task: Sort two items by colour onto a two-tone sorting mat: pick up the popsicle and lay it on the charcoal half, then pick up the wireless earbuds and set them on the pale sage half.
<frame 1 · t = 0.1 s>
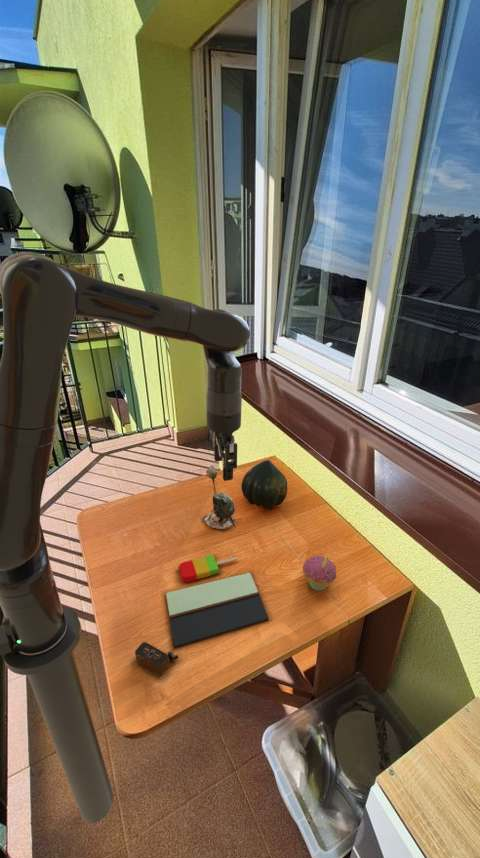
hand: (223, 469, 90), 28 cm above the table, tool pointing down, fingers open, 8 cm apart
squash: (263, 501, 125), on the table
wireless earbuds: (158, 663, 76), on the table
cupcake: (317, 583, 97), on the table
popsicle: (209, 568, 98), on the table
sorting mat: (216, 607, 88), on the table
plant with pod: (221, 523, 114), on the table
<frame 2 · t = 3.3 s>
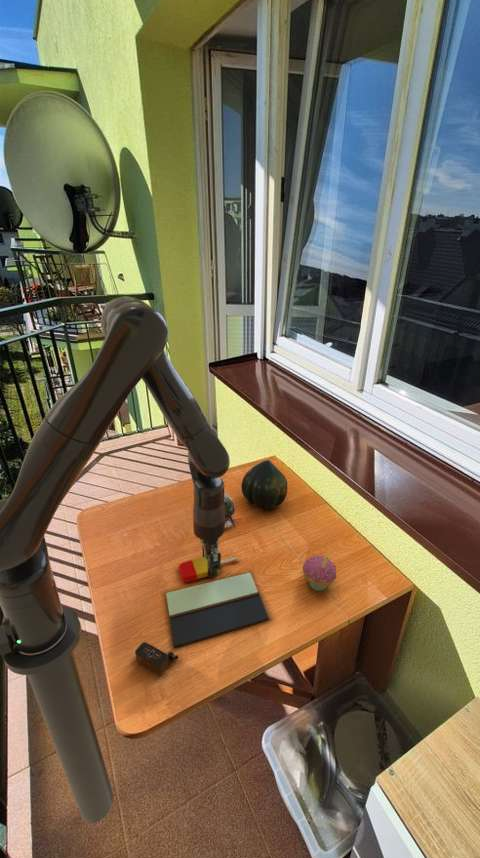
hand: (209, 566, 98), 1 cm above the table, tool pointing down, fingers closed on popsicle, 5 cm apart
popsicle: (209, 568, 98), on the table, touching gripper
everything else where it was.
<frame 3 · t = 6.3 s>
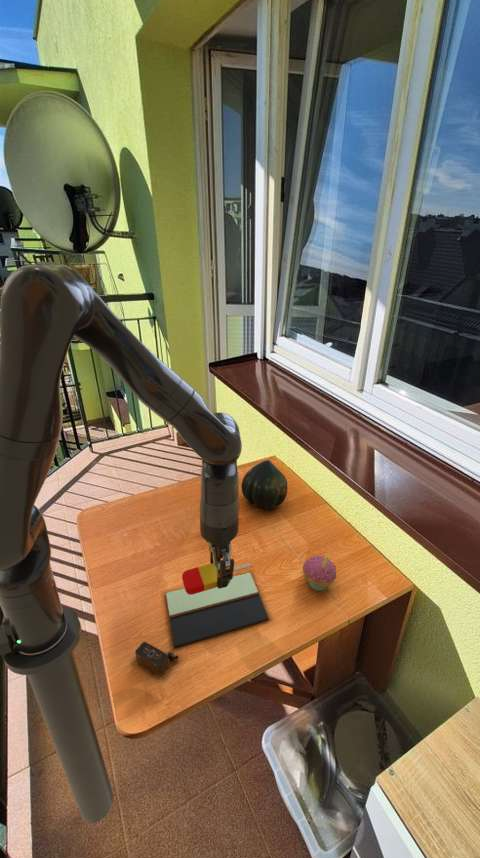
hand: (218, 574, 81), 12 cm above the table, tool pointing down, fingers closed on popsicle, 5 cm apart
popsicle: (218, 577, 81), point 12 cm above the table, touching gripper
everything else where it was.
when the fingers open (1 cm above the table, at t = 9.4 s): popsicle stays where it is, resting on sorting mat.
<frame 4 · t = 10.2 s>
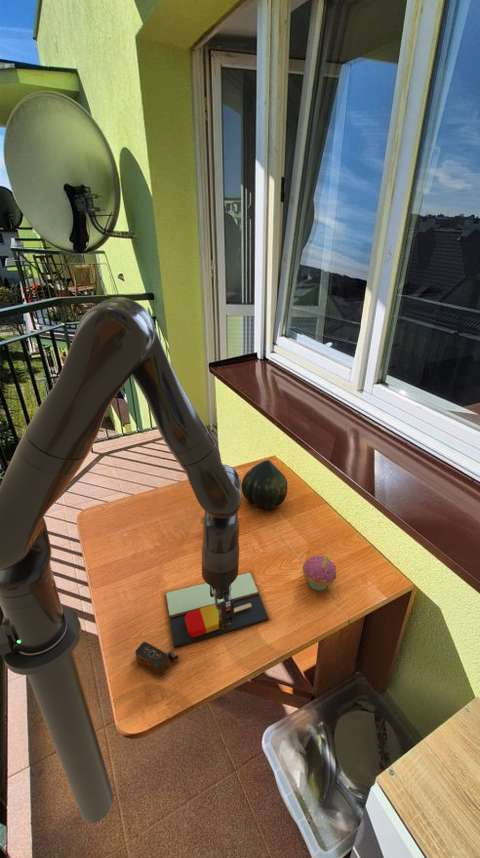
hand: (219, 610, 84), 3 cm above the table, tool pointing down, fingers open, 8 cm apart
popsicle: (220, 618, 85), resting on sorting mat
everything else where it was.
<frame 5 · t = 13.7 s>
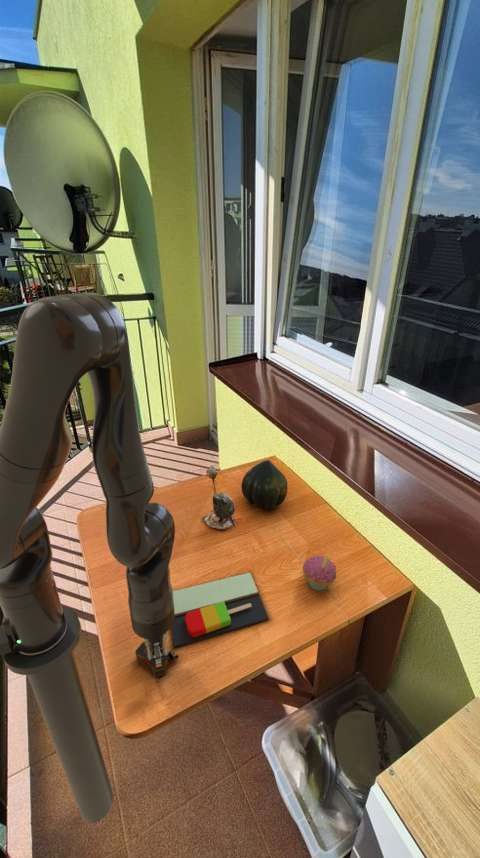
hand: (158, 661, 75), 1 cm above the table, tool pointing down, fingers closed on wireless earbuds, 5 cm apart
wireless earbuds: (158, 662, 76), on the table, touching gripper
everything else where it was.
when the fingers open (1 cm above the table, at t = 19.9 s): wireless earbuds stays where it is, resting on sorting mat.
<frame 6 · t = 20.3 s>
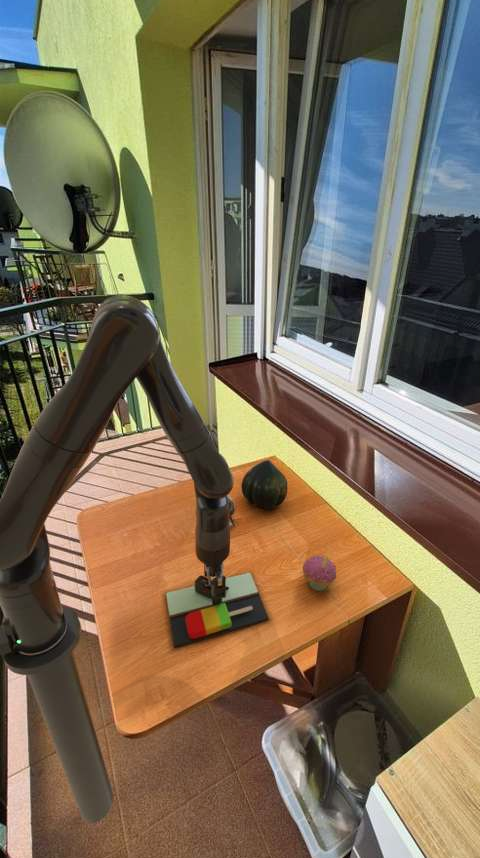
hand: (212, 588, 90), 2 cm above the table, tool pointing down, fingers open, 8 cm apart
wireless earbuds: (212, 592, 91), resting on sorting mat
popsicle: (220, 620, 85), resting on sorting mat, touching gripper
everything else where it was.
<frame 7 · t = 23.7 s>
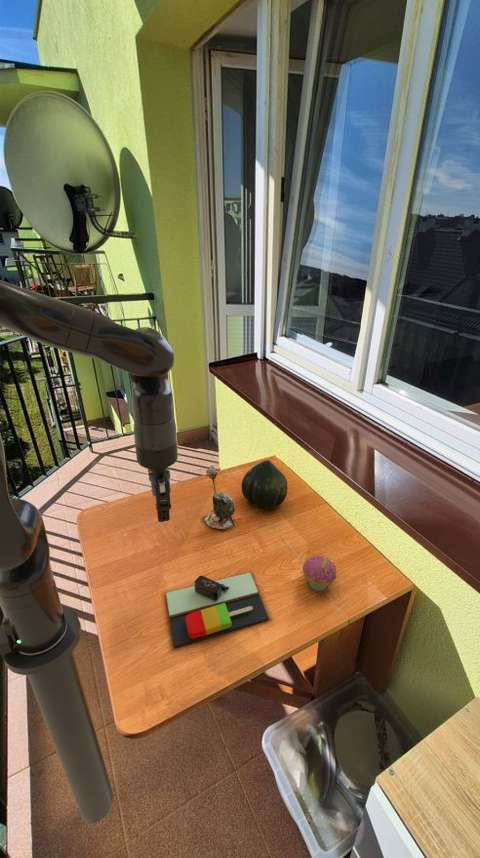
hand: (161, 507, 78), 26 cm above the table, tool pointing down, fingers open, 8 cm apart
popsicle: (220, 620, 85), resting on sorting mat
everything else where it was.
at the end: popsicle inside the target area (0.3 cm from its centre), resting on sorting mat; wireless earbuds inside the target area (0.1 cm from its centre), resting on sorting mat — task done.
